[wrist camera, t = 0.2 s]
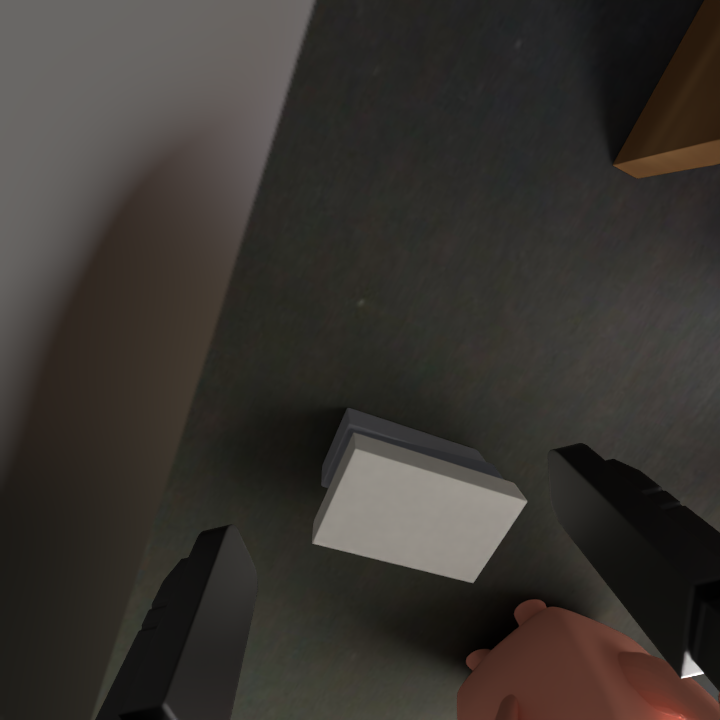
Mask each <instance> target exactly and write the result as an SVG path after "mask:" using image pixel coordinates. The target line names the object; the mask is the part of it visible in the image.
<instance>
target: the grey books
mask: <svg viewBox="0 0 720 720" xmlns="http://www.w3.org/2000/svg"><path fill="white" fill-rule="evenodd" d="M353 433H357V434H361V435H364V436H367V437H370V438H373V439H376V440H380V441H383V442H386V443H389V444H392V445H395V446H399V447H402V448H405V449H408V450H411V451H414V452H418V453H421V454H424V455H427V456H430V457H434V458H437V459H440V460H443V461H446V462H449V463H453V464H456V465H459V466H462V467H465V468H468V469H472V470H475V471H478V472H481V473H484V474H487V475H491V476H494V477H497V478H500V479H503V478H502V476H501V475H500V473H499V472H498V470H497V469H496V468H495V466H494V465H493V464H492V463H487V462H485V460H484V459H483V457H482V456H481V454H480V453H479V451H478V450H476V449H473V448H470V447H467V446H464V445H461V444H458V443H455V442H452V441H449V440H446V439H443V438H440V437H437V436H433V435H430V434H427V433H424V432H421V431H418V430H415V429H412V428H409V427H406V426H403V425H400V424H397V423H394V422H391V421H388V420H385V419H382V418H379V417H376V416H373V415H370V414H366V413H363V412H360V411H357V410H354V409H351V408H347V409H346V412H345V414H344V416H343V419H342V421H341V423H340V425H339V428H338V430H337V432H336V435H335V437H334V439H333V442H332V444H331V446H330V449H329V451H328V453H327V456H326V458H325V460H324V463H323V465H322V483H321V485H322V486H323V487H326V488H329V486H330V484H331V482H332V479H333V477H334V475H335V473H336V470H337V468H338V466H339V464H340V462H341V459H342V457H343V455H344V453H345V450H346V448H347V446H348V444H349V441H350V439H351V437H352V435H353ZM503 480H504V479H503Z"/></svg>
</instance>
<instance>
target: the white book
mask: <svg viewBox="0 0 720 720" xmlns="http://www.w3.org/2000/svg"><path fill="white" fill-rule="evenodd" d="M526 503H527V500H526V498H525V497H524V496H523V494H522V493H521V491H520V490H519V489H518V487H517V486H516V485H515V483H513V482H510V481H506V480H503V479H500V478H497V477H494V476H491V475H487V474H484V473H481V472H478V471H475V470H472V469H468V468H465V467H462V466H459V465H456V464H453V463H449V462H446V461H443V460H440V459H437V458H434V457H430V456H427V455H424V454H421V453H418V452H414V451H411V450H408V449H405V448H402V447H399V446H395V445H392V444H389V443H386V442H383V441H380V440H376V439H373V438H370V437H367V436H364V435H361V434H357V433H353V435H352V437H351V439H350V441H349V444H348V446H347V448H346V450H345V453H344V455H343V457H342V459H341V462H340V464H339V466H338V468H337V470H336V473H335V475H334V477H333V479H332V482H331V484H330V486H329V488H328V491H327V493H326V495H325V497H324V500H323V502H322V504H321V506H320V508H319V511H318V513H317V515H316V517H315V520H314V522H313V535H312V543H313V544H316V545H321V546H325V547H329V548H333V549H337V550H341V551H345V552H349V553H353V554H357V555H361V556H365V557H369V558H373V559H377V560H381V561H385V562H389V563H393V564H397V565H402V566H406V567H410V568H414V569H418V570H422V571H426V572H430V573H434V574H438V575H442V576H446V577H450V578H454V579H458V580H462V581H466V582H470V583H474V581H475V580H476V578H477V577H478V575H479V574H480V572H481V571H482V569H483V568H484V566H485V565H486V563H487V562H488V560H489V559H490V557H491V556H492V554H493V553H494V551H495V550H496V548H497V547H498V545H499V544H500V542H501V541H502V539H503V538H504V536H505V535H506V533H507V532H508V530H509V529H510V527H511V526H512V524H513V523H514V521H515V520H516V518H517V517H518V515H519V514H520V512H521V511H522V509H523V508H524V506H525V505H526Z"/></svg>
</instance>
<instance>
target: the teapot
mask: <svg viewBox="0 0 720 720" xmlns="http://www.w3.org/2000/svg"><path fill="white" fill-rule="evenodd" d="M514 616H515V618H516V620H517V622H518V624H519V627H518V628H517V629H515V630H514V631H513V632H512V633H510V634H509V635H508V636H507V637H506V638H504V639H503V640H502V641H501V642H500V643H499V644H498V645H496V646H495V647H494V648H493V649H492V650H490V649H479V650H476V651H474V652H472V653H471V654H470V655H469V656H468V657H467V659H466V664H467V666H468V667H469V668H470V669H471V670H473V671H472V673H471V674H470V675H469V676H468V678H467V679H466V680H465V681H464V683H463V684H462V686H461V687H460V689H459V691H458V695H457V719H458V720H720V706H719V703H718V702H717V701H716V700H715V699H714V698H713V697H712V696H711V695H710V694H709V693H708V692H707V691H706V690H705V689H704V688H702V687H701V686H700V685H699V684H698V683H697V682H696V681H695V680H693V679H692V678H691V677H686V678H682V679H680V677H679V676H678V675H677V674H676V672H675V671H674V670H673V668H672V667H671V666H670V665H669V663H668V662H666V661H665V660H663V659H661V658H657V657H654V656H651V655H650V654H649V653H648V652H647V651H646V650H644V649H643V648H642V647H641V646H640V645H639V644H638V643H636V642H635V641H634V640H633V639H631V638H630V637H628V636H626V635H624V634H623V633H621V632H619V631H617V630H614V629H612V628H610V627H608V626H606V625H604V624H602V623H600V622H597V621H595V620H592V619H590V618H588V617H585V616H582V615H580V614H577V613H575V612H572V611H569V610H566V609H563V608H560V607H548V608H547V607H546V604H545V603H544V602H543V601H541V600H537V599H532V600H527V601H525V602H523V603H521V604H520V605H519V606H518V607H517V608H516V609H515V612H514Z"/></svg>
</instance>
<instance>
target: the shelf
mask: <svg viewBox="0 0 720 720" xmlns="http://www.w3.org/2000/svg"><path fill="white" fill-rule="evenodd" d="M716 164H720V0H704V1H703V3H702V5H701V7H700V9H699V10H698V12H697V14H696V16H695V17H694V19H693V21H692V23H691V25H690V26H689V28H688V30H687V32H686V34H685V35H684V37H683V39H682V41H681V43H680V44H679V46H678V48H677V50H676V52H675V53H674V55H673V57H672V59H671V61H670V62H669V64H668V66H667V68H666V70H665V71H664V73H663V75H662V77H661V79H660V80H659V82H658V84H657V86H656V88H655V89H654V91H653V93H652V95H651V97H650V98H649V100H648V102H647V104H646V106H645V107H644V109H643V111H642V113H641V115H640V116H639V118H638V120H637V122H636V124H635V125H634V127H633V129H632V131H631V133H630V134H629V136H628V138H627V140H626V142H625V143H624V145H623V147H622V149H621V150H620V152H619V154H618V156H617V158H616V159H615V161H614V163H613V166H615V167H617V168H618V169H620V170H622V171H624V172H626V173H628V174H629V175H631V176H633V177H635V178H637V179H638V178H644V177H649V176H655V175H660V174H666V173H672V172H677V171H683V170H688V169H694V168H699V167H705V166H711V165H716Z"/></svg>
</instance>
